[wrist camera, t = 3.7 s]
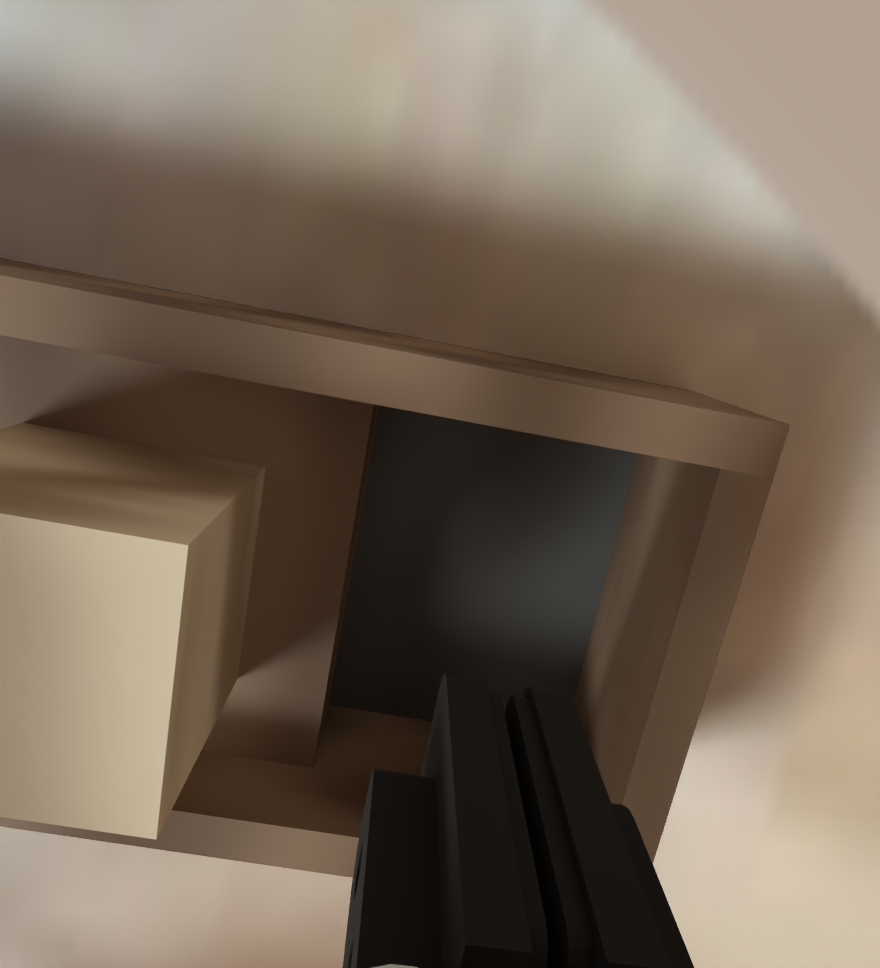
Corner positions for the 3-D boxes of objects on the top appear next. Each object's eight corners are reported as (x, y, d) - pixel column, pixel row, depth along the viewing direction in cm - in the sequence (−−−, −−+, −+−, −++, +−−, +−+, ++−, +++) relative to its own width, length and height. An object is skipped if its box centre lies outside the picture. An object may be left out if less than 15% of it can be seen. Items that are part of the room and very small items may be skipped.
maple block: (265, 466, 15) (188, 545, 10) (238, 678, 16) (156, 839, 11) (22, 422, 15) (-177, 483, 10) (12, 642, 16) (-170, 792, 11)
